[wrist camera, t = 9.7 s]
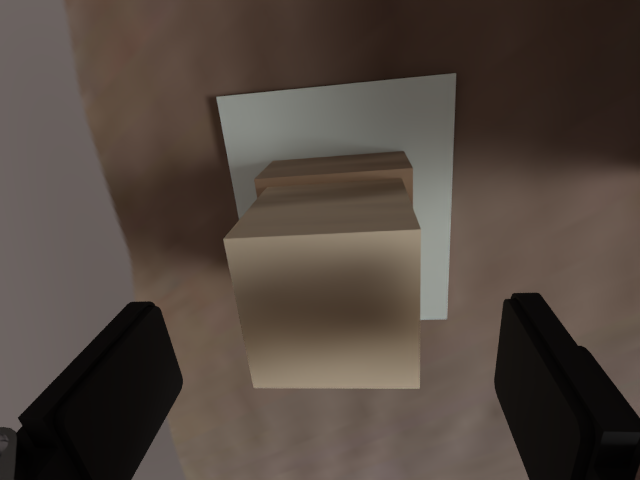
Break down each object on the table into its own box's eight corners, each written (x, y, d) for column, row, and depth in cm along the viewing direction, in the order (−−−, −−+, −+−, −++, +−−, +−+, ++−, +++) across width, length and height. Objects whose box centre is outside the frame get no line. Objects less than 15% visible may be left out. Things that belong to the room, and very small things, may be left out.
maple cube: (266, 187, 18) (223, 239, 12) (401, 178, 17) (421, 229, 11) (283, 301, 20) (253, 388, 14) (403, 297, 19) (419, 388, 14)
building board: (220, 96, 21) (216, 96, 20) (453, 73, 19) (456, 73, 19) (260, 317, 26) (258, 323, 25) (445, 313, 24) (447, 319, 24)
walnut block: (272, 160, 21) (253, 179, 17) (403, 150, 20) (412, 168, 17) (288, 274, 24) (275, 311, 20) (405, 270, 23) (413, 307, 19)
